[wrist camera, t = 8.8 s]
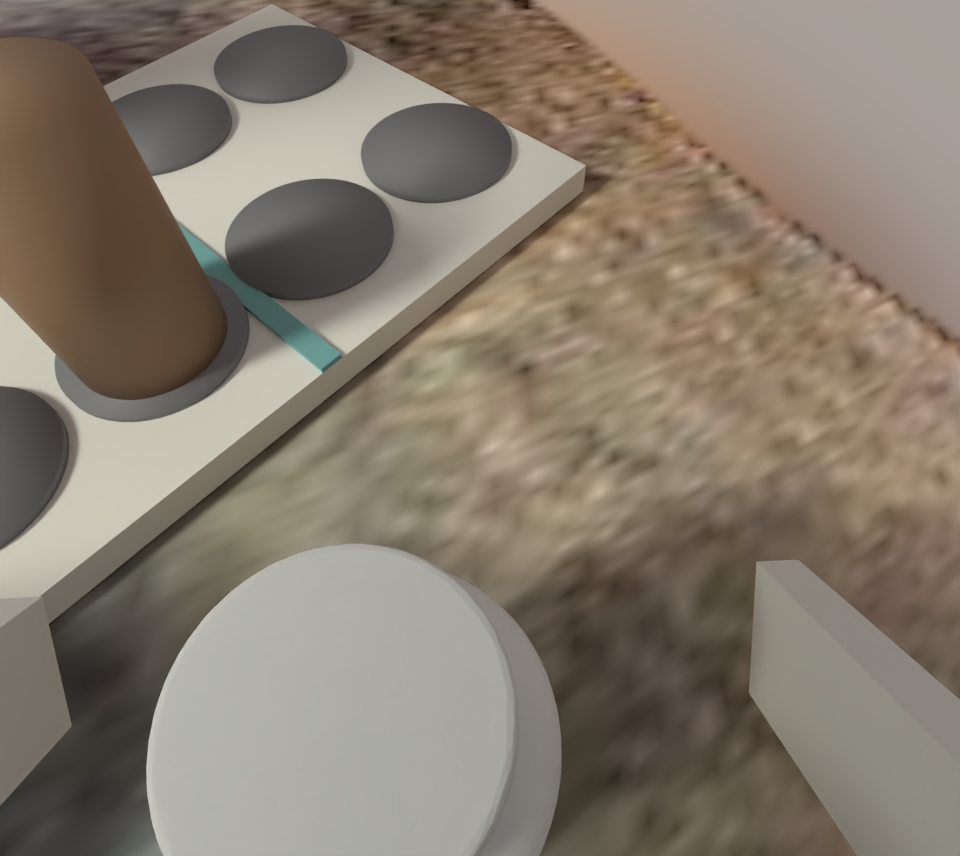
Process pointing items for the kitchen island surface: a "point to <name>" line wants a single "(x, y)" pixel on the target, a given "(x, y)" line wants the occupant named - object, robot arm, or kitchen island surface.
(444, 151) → the board
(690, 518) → the kitchen island surface
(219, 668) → the supplement bottle
